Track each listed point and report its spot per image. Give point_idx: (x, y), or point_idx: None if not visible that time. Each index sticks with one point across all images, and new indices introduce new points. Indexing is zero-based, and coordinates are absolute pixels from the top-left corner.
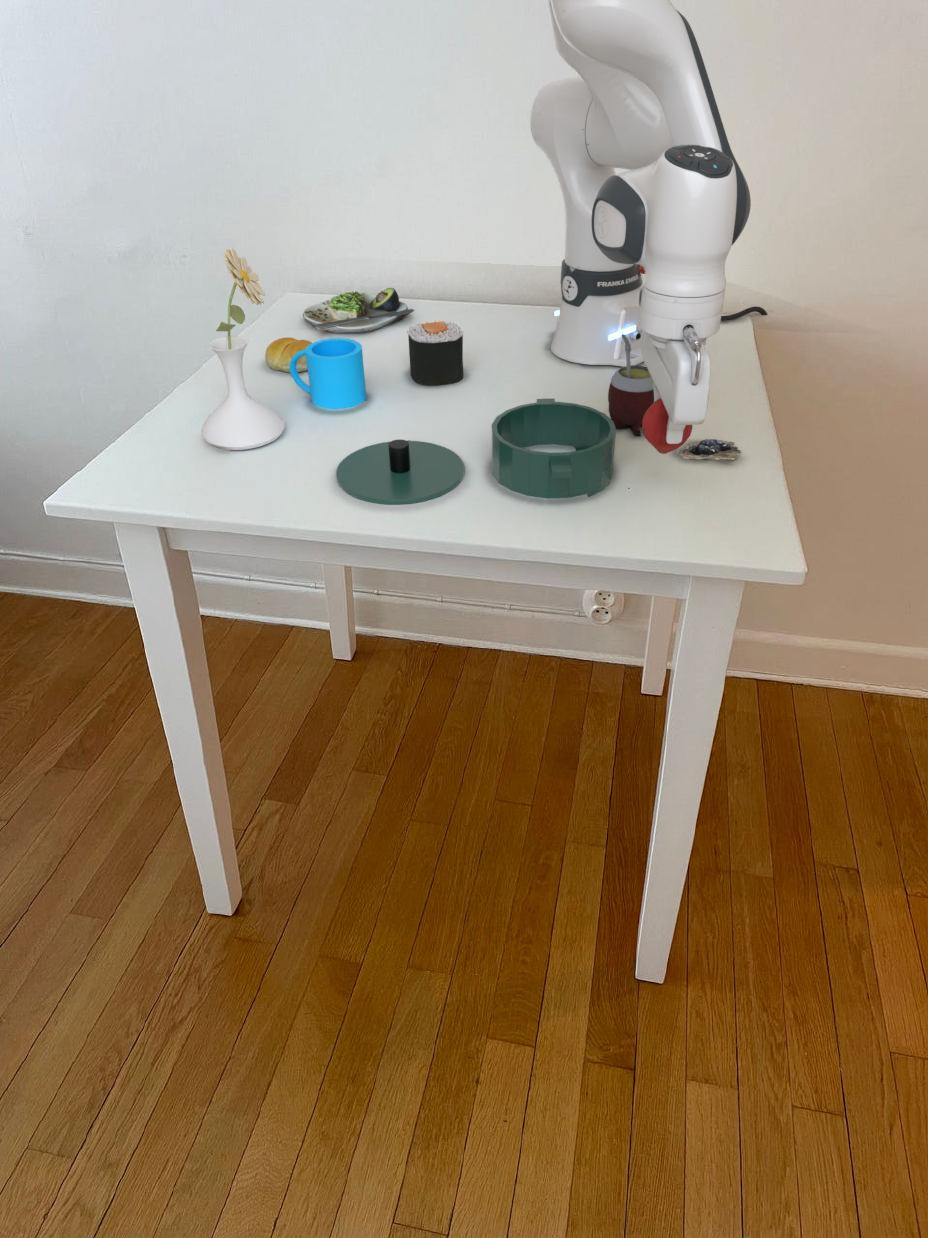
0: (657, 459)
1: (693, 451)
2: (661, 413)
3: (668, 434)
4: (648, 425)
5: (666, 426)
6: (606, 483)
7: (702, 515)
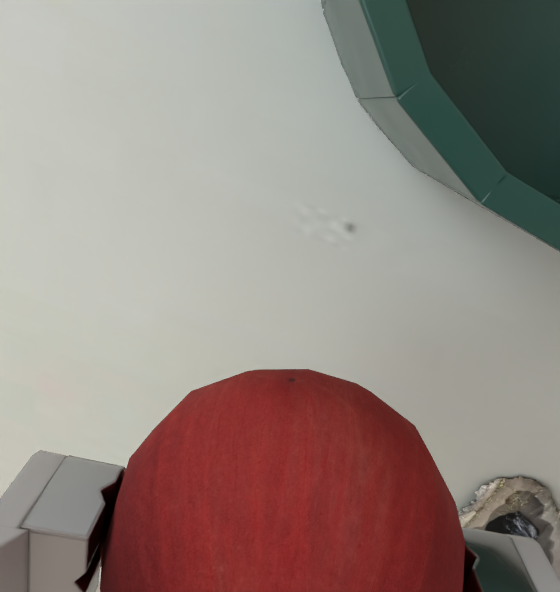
0: (524, 404)
1: (505, 523)
2: (163, 589)
3: (6, 496)
4: (216, 426)
5: (51, 531)
6: (392, 142)
7: (110, 392)
